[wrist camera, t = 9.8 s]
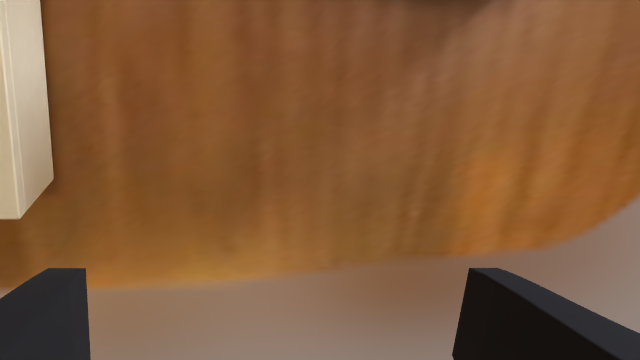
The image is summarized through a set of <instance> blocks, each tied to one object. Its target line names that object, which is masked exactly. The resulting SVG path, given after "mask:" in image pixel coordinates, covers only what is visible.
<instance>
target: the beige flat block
mask: <svg viewBox="0 0 640 360" xmlns="http://www.w3.org/2000/svg"><path fill="white" fill-rule="evenodd" d="M53 179H54V175H53V162H52V149H51V136H50V123H49V111H48V98H47V85H46V72H45V59H44V46H43V33H42V20H41V8H40V0H0V219H20V218H21V217H22V216H23V215H24V214H25V212H26V211H27V210H28V208H29V207H30V206H31V205H32V204H33V203H34V201H35V200H36V199H37V198H38V197H39V196H40V194H41V193H42V192H43V191H44V190H45V189H46V187H47V186H48V185H49V184H50V183H51V182H52V181H53Z"/></svg>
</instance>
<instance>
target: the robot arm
mask: <svg viewBox="0 0 640 360" xmlns="http://www.w3.org/2000/svg"><path fill="white" fill-rule="evenodd" d="M452 356H453V358H454V360H640V333H637V332H635V331H633V330H631V329H628V328H626V327H624V326H622V325H620V324H618V323H615V322H613V321H611V320H609V319H607V318H605V317H603V316H601V315H598V314H597V313H594V312H592V311H590V310H588V309H586V308H584V307H582V306H580V305H578V304H576V303H574V302H572V301H570V300H568V299H566V298H564V297H562V296H560V295H558V294H556V293H554V292H552V291H550V290H547V289H546V288H543V287H541V286H539V285H537V284H535V283H533V282H531V281H528V280H526V279H524V278H522V277H520V276H517V275H515V274H513V273H510V272H508V271H505V270H501V269H498V268H469V272H468V277H467V282H466V287H465V293H464V297H463V303H462V307H461V312H460V318H459V322H458V328H457V333H456V338H455V343H454V348H453V353H452ZM0 360H90V341H89V323H88V303H87V284H86V268H48V269H46V270H45V271H43V272H41V273H39V274H38V275H36V276H34V277H33V278H31V279H30V280H28V281H26V282H25V283H23V284H22V285H20V286H19V287H17V288H16V289H14V290H13V291H11V292H10V293H8V294H7V295H5V296H4V297H2V298H1V299H0Z"/></svg>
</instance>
